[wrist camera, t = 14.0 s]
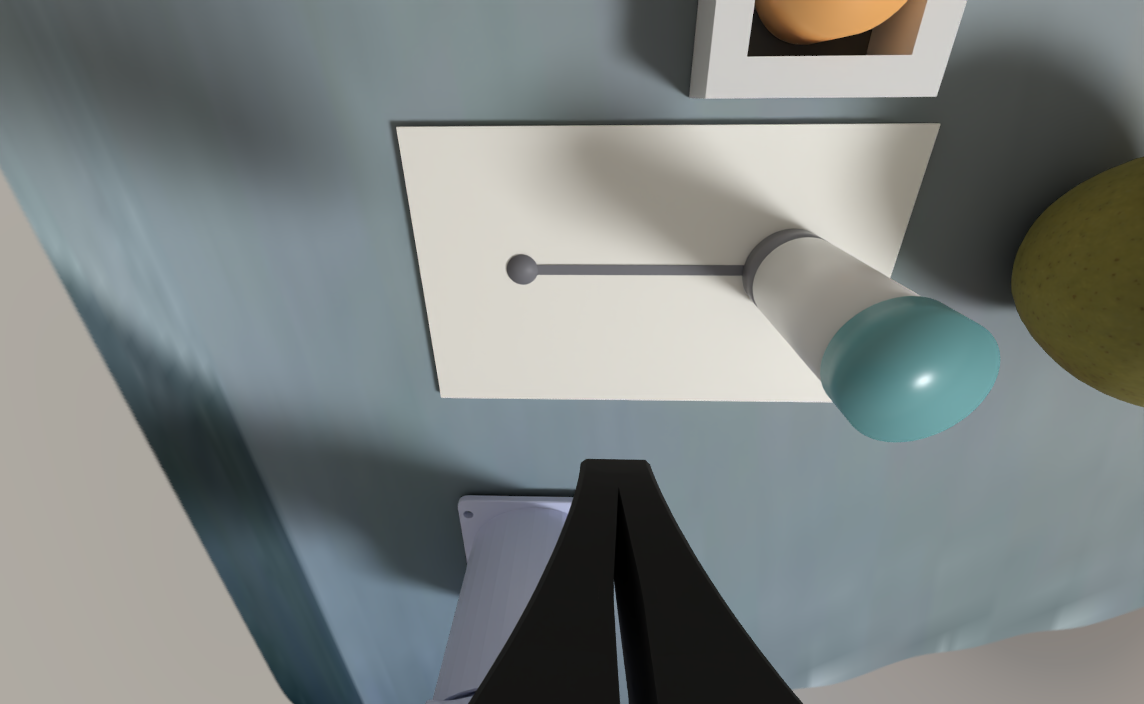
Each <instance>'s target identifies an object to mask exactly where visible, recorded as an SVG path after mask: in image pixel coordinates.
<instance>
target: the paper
mask: <svg viewBox="0 0 1144 704" xmlns="http://www.w3.org/2000/svg"><path fill="white" fill-rule="evenodd" d="M940 125H941V124H939V123H883V124H721V125H559V126H399V127H396V129H397V135H398V141H399V147H400V153H401V159H402V165H403V171H404V177H405V183H406V189H407V195H408V201H409V207H410V213H411V219H412V225H413V231H414V237H415V243H416V249H417V255H418V261H419V267H420V273H421V279H422V285H423V291H424V297H425V303H426V309H427V315H428V321H429V327H430V333H431V339H432V345H433V351H434V357H435V363H436V369H437V375H438V381H439V387H440V393H441V398H502V399H589V400H676V401H763V402H832V400H831V399H830V398H829V397H828V395H827V394H826V393H825V391H824V389H823V386H822V383H821V381H820V380H819V379H818V378H817V377H816V375H815V374H814V373H813V372H812V371H811V370H810V368H809V367H808V366H807V365H806V364H805V363H804V361H803V360H802V359H801V358H800V357H799V356H798V354H797V353H796V352H795V351H794V350H793V348H792V347H791V346H790V345H789V344H788V343H787V341H786V340H785V339H784V338H783V337H782V336H781V334H780V333H779V332H778V331H777V330H776V329H775V327H774V326H773V325H772V324H771V323H770V322H769V320H768V319H767V318H766V317H765V316H764V314H763V313H762V312H761V311H760V310H759V309H758V307H757V306H756V305H755V304H754V303H753V302H752V300H751V299H750V298H749V297H748V295H747V294H746V292H745V289H744V287H743V282H742V274H743V268H744V265H745V262H746V260H747V258H748V256H749V254H750V253H751V251H752V250H753V249H754V248H755V246H756V245H757V244H758V243H759V242H761V241H762V240H763V239H764V238H766V237H768V236H769V235H771V234H773V233H775V232H778V231H781V230H785V229H793V228H796V229H804V230H807V231H810V232H812V233H814V234H816V235H817V236H819V237H821V238H823V239H824V240H826V241H828V242H829V243H831V244H833V245H834V246H836V247H838V248H840V249H841V250H843V251H845V252H846V253H848V254H850V255H852V256H853V257H855V258H857V259H858V260H860V261H862V262H863V263H865V264H867V265H869V266H870V267H872V268H874V269H875V270H877V271H879V272H881V273H882V274H884V275H886V276H887V277H889V278H890V277H891V274H892V271H893V268H894V265H895V262H896V259H897V256H898V253H899V250H900V247H901V244H902V241H903V238H904V234H905V231H906V228H907V225H908V222H909V219H910V216H911V213H912V210H913V207H914V204H915V201H916V198H917V195H918V192H919V189H920V186H921V183H922V180H923V177H924V174H925V171H926V167H927V164H928V161H929V158H930V155H931V152H932V149H933V146H934V143H935V140H936V137H937V134H938V131H939V128H940Z"/></svg>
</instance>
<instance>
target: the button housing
mask: <svg viewBox="0 0 1144 704" xmlns="http://www.w3.org/2000/svg"><path fill="white" fill-rule="evenodd" d="M966 2H967V0H908V1H907V2H906V3H905V4H904V5H903V6H902V7H901V8H900V9H899V10H898V11H897V12H896V13H894V14H893V15H892V16H891V17H890V18H888V19H887V20H885V21H884V22H882V23H881V24H879V25H878V26H876V27H874V28H873V29H872V33H871V37H870V41H869V45H868V49H867V53H866V55H855V56H760V57H747V53H748V46H749V39H750V32H751V25H752V18H753V12H754V5H755V0H698V10H697V21H696V31H695V41H694V52H693V62H692V72H691V82H690V93H689V98H705V99H709V98H836V97H937V94H938V91H939V88H940V84H941V81H942V78H943V75H944V72H945V69H946V65H947V62H948V59H949V56H950V53H951V50H952V47H953V43H954V40H955V37H956V34H957V31H958V28H959V24H960V21H961V18H962V15H963V12H964V9H965V5H966Z"/></svg>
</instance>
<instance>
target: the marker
mask: <svg viewBox="0 0 1144 704" xmlns="http://www.w3.org/2000/svg"><path fill="white" fill-rule="evenodd" d="M742 282H743V287H744V289H745V292H746V294H747V295H748V297H749V298H750V299H751V300H752V302H753V303H754V304H755V305H756V306H757V307H758V309H759V310H760V311H761V312H762V313H763V314H764V316H765V317H766V318H767V319H768V320H769V322H770V323H771V324H772V325H773V326H774V327H775V329H776V330H777V331H778V332H779V333H780V334H781V336H782V337H783V338H784V339H785V340H786V341H787V343H788V344H789V345H790V346H791V347H792V348H793V350H794V351H795V352H796V353H797V354H798V356H799V357H800V358H801V359H802V360H803V361H804V363H805V364H806V365H807V366H808V367H809V368H810V370H811V371H812V372H813V373H814V374H815V375H816V377H817V378H818V379H819V380H820V381H821V383H822V386H823V389H824V391H825V393H826V394H827V395H828V397H829V398H830V399H831V400H832V402H833V403H834V404H835V405H836V406H837V408H838V409H839V410H840V411H841V412H842V414H843V415H844V416H845V417H846V418H847V420H848V421H849V422H850V423H851V424H852V426H853V427H854V428H855V429H857V430H858V431H859V432H860V433H862V434H864V435H865V436H868V437H870V438H872V439H876V440H879V441H885V442H908V441H914V440H919V439H923V438H926V437H929V436H932V435H935V434H937V433H940V432H942V431H944V430H946V429H948V428H950V427H952V426H953V425H955V424H957V423H958V422H960V421H961V420H963V419H964V418H965V417H967V416H968V415H969V414H970V413H971V412H972V411H974V410H975V409H976V408H977V407H978V406H979V405H980V403H981V402H982V401H983V400H984V399H985V397H986V396H987V395H988V393H989V392H990V390H991V388H992V387H993V385H994V383H995V380H996V378H997V375H998V372H999V368H1000V351H999V348H998V344H997V342H996V340H995V339H994V337H993V336H992V335H991V333H990V332H989V331H988V330H987V329H985V328H984V327H983V326H981V325H979V324H978V323H976V322H974V321H972V320H971V319H969V318H967V317H965V316H964V315H962V314H960V313H958V312H957V311H955V310H953V309H951V308H950V307H948V306H946V305H944V304H943V303H941V302H939V301H937V300H934V299H931V298H927V297H922V296H920V295H918V294H916V293H915V292H913V291H911V290H910V289H908V288H906V287H904V286H903V285H901V284H899V283H898V282H896V281H894V280H892V279H891V278H889V277H887V276H886V275H884V274H882V273H881V272H879V271H877V270H875V269H874V268H872V267H870V266H869V265H867V264H865V263H863V262H862V261H860V260H858V259H857V258H855V257H853V256H852V255H850V254H848V253H846V252H845V251H843V250H841V249H840V248H838V247H836V246H834V245H833V244H831V243H829V242H828V241H826V240H824V239H823V238H821V237H819V236H817V235H816V234H814V233H812V232H810V231H807V230H804V229H796V228H793V229H785V230H781V231H778V232H775V233H773V234H771V235H769V236H768V237H766V238H764V239H763V240H762V241H761V242H759V243H758V244H757V245H756V246H755V248H754V249H753V250H752V251H751V253H750V254H749V256H748V258H747V260H746V262H745V265H744V268H743V274H742Z"/></svg>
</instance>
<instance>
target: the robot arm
mask: <svg viewBox="0 0 1144 704" xmlns="http://www.w3.org/2000/svg"><path fill="white" fill-rule="evenodd" d="M467 511H470V512H467ZM458 512H459V518H460V524H461V530H462V536H463V541H464V547H465V553H466V559H467V568H466V572H465V576H464V580H463V584H462V587H461V591H460V595H459V599H458V603H457V607H456V611H455V615H454V619H453V622H452V626H451V630H450V634H449V638H448V642H447V646H446V650H445V653H444V657H443V661H442V665H441V669H440V673H439V677H438V681H437V685H436V688H435V692H434V696H433V700H428V701H426V704H620V696H619V681H618V666H617V650H616V633H615V616H614V584H615V592H616V601H617V609H618V617H619V625H620V633H621V641H622V649H623V657H624V665H625V673H626V681H627V689H628V698H629V704H803V703H802V702H801V701H800V700H799V698H798V697H797V696H796V695H795V694H794V693H793V691H792V690H791V689H790V688H789V686H788V685H787V684H786V683H785V682H784V680H783V679H782V678H781V676H780V675H779V674H778V673H777V671H776V670H775V669H774V667H773V666H772V665H771V664H770V662H769V661H768V660H767V659H766V657H765V656H764V655H763V653H762V652H761V651H760V650H759V648H758V647H757V646H756V644H755V643H754V641H753V640H752V639H751V637H750V636H749V635H748V633H747V632H746V631H745V629H744V628H743V627H742V625H741V624H740V622H739V621H738V620H737V618H736V617H735V615H734V614H733V613H732V611H731V610H730V608H729V607H728V605H727V604H726V602H725V601H724V599H723V598H722V597H721V595H720V594H719V592H718V590H717V589H716V587H715V586H714V584H713V583H712V581H711V580H710V578H709V577H708V575H707V574H706V572H705V570H704V569H703V567H702V565H701V564H700V562H699V561H698V559H697V557H696V556H695V554H694V552H693V551H692V549H691V547H690V545H689V544H688V542H687V540H686V538H685V537H684V535H683V533H682V531H681V530H680V528H679V526H678V524H677V522H676V521H675V519H674V517H673V515H672V513H671V511H670V509H669V507H668V505H667V503H666V501H665V499H664V497H663V495H662V493H661V491H660V488H659V486H658V484H657V482H656V479H655V477H654V474H653V472H652V469H651V466H650V464H649V463H648V462H647V461H646V460H618V459H586V460H584V461H583V462H581V466H580V473H579V478H578V483H577V487H576V490H575V494H574V497H533V496H477V495H466V496H463V497H461V498H460V499H459V502H458Z"/></svg>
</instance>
